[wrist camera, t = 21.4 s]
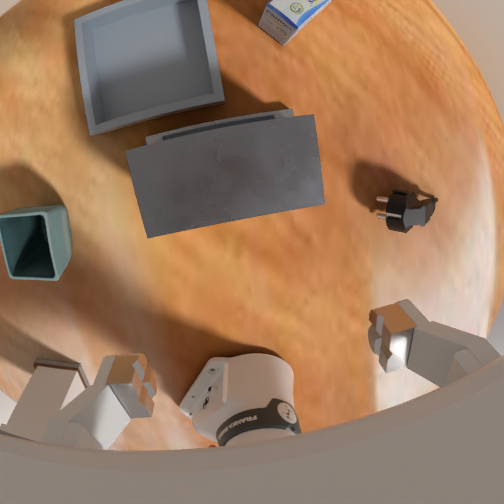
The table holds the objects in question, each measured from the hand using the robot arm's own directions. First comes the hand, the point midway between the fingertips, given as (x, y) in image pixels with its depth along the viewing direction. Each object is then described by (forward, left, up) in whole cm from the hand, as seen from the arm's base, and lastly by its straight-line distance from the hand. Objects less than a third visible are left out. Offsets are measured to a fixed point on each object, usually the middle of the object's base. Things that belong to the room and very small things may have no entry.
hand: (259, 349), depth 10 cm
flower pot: (-20, +17, -31) cm, 41 cm away
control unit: (+2, +3, -31) cm, 31 cm away
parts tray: (+6, +18, -31) cm, 37 cm away
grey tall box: (-50, +3, -31) cm, 59 cm away
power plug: (+18, -24, -33) cm, 45 cm away
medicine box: (+22, +9, -31) cm, 39 cm away
